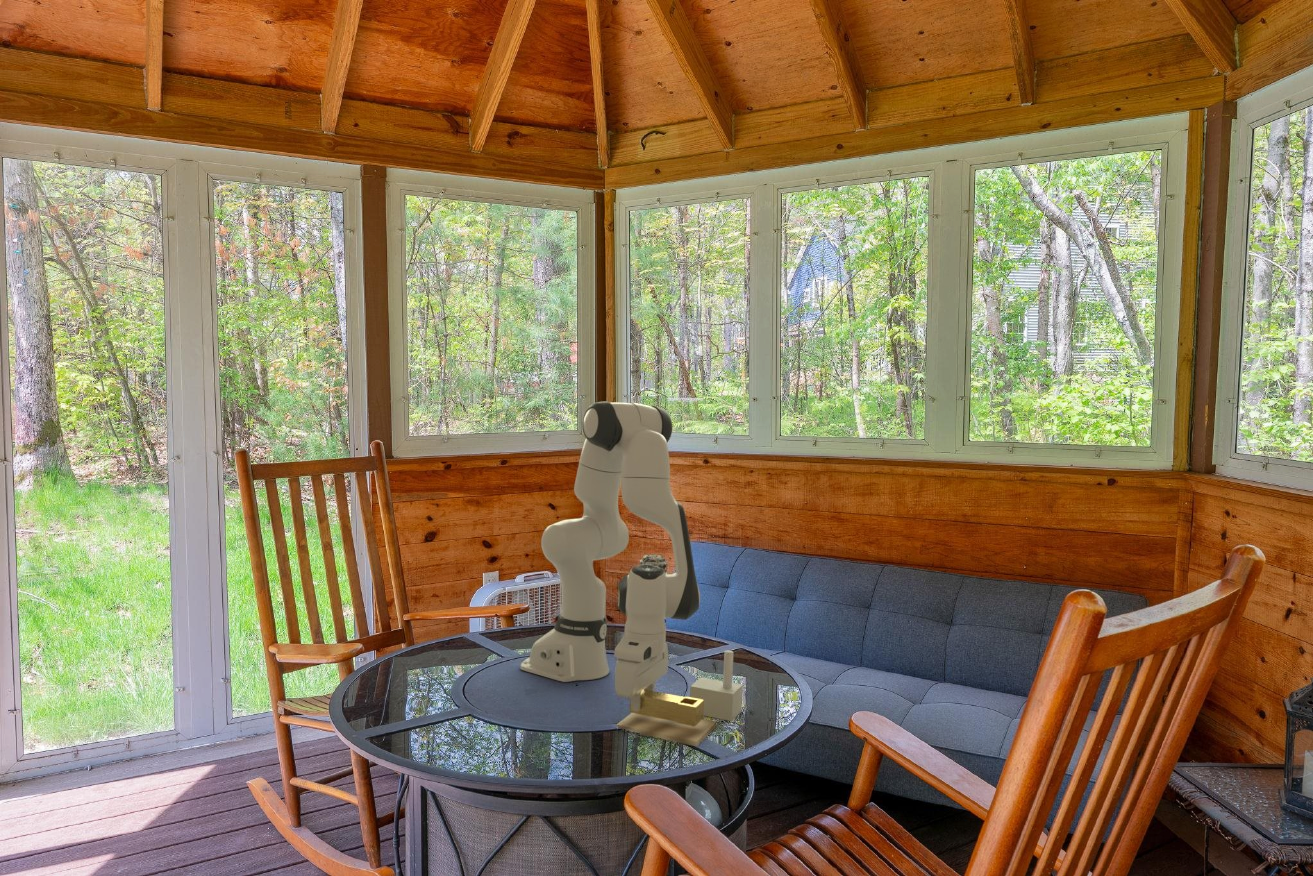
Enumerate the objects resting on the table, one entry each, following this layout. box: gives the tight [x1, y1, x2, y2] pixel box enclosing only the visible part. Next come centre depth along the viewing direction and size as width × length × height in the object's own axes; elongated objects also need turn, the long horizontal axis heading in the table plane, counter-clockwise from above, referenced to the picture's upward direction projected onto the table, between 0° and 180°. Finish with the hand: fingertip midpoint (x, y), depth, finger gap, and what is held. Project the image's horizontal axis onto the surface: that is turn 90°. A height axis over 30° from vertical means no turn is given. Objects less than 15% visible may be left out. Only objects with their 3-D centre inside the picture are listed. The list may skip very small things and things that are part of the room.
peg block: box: [689, 650, 744, 722], centre depth 190 cm, size 10×7×14 cm
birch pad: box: [615, 712, 717, 747], centre depth 180 cm, size 18×12×1 cm, turn 67°
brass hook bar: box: [629, 689, 704, 726], centre depth 180 cm, size 15×5×4 cm, turn 67°
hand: (641, 705), depth 182 cm, fingers closed on brass hook bar, 4 cm apart
